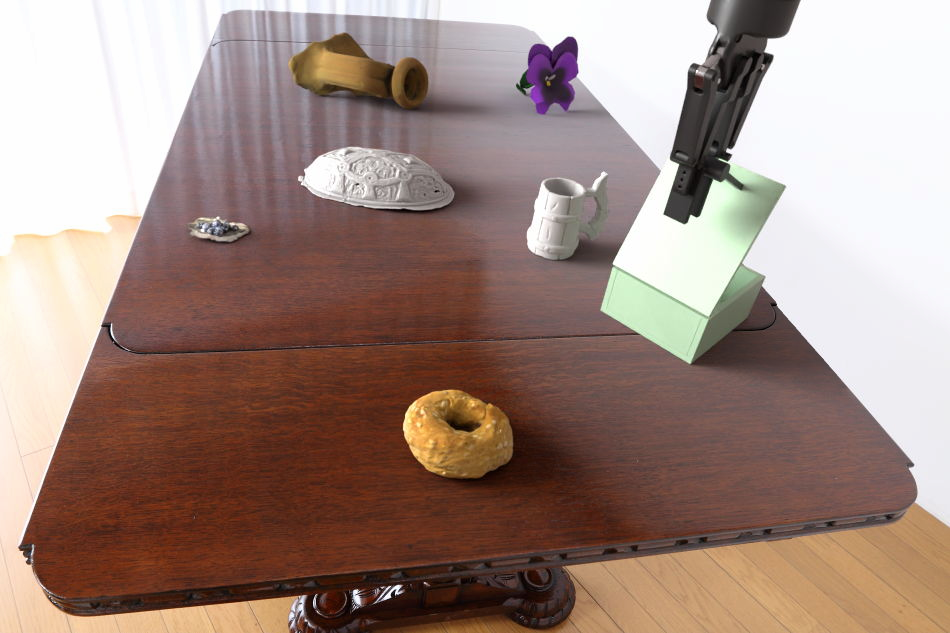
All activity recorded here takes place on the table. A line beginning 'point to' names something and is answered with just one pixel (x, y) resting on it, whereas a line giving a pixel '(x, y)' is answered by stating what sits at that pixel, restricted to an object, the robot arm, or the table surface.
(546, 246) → the mug
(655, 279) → the lunchbox lid
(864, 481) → the table surface
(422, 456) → the bagel
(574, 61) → the flower
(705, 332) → the box
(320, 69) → the brown looped sculpture
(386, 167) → the ornate oval dome
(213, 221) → the blueberries
